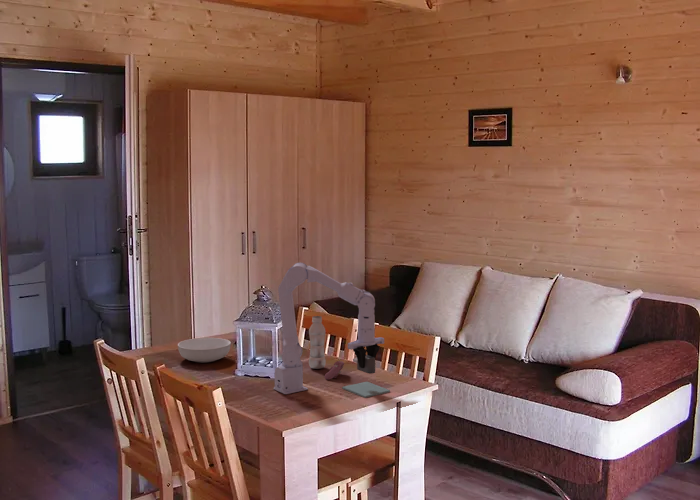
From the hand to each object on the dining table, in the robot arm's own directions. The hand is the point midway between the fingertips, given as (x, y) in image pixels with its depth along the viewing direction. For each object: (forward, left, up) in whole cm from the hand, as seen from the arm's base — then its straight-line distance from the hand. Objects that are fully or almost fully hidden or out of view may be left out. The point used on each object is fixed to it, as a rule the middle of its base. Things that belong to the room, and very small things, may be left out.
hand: (366, 366), depth 267 cm
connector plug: (0, +1, -1) cm, 2 cm away
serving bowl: (-27, +70, -9) cm, 76 cm away
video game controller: (+1, +20, -9) cm, 22 cm away
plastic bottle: (+2, +33, -9) cm, 34 cm away
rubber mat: (0, 0, -8) cm, 8 cm away
